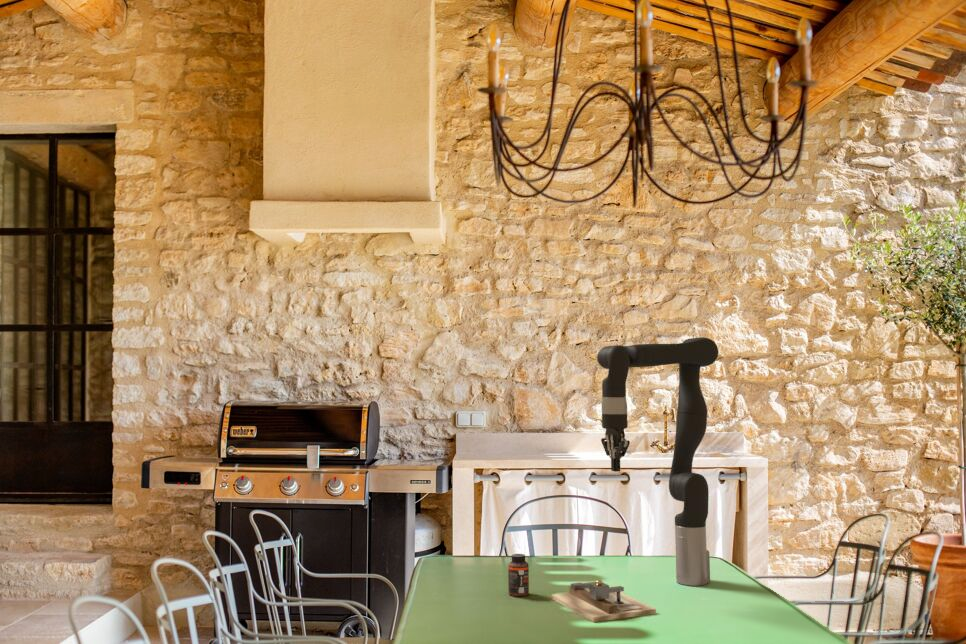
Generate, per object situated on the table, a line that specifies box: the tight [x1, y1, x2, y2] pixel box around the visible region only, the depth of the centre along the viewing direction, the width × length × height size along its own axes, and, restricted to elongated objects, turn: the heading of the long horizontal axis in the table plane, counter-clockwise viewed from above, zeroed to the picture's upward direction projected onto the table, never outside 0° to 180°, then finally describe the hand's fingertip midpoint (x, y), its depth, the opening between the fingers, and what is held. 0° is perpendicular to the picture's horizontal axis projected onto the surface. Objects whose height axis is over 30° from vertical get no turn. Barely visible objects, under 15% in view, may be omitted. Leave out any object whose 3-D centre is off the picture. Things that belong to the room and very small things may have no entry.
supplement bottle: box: [507, 553, 530, 598], centre depth 232 cm, size 6×6×11 cm
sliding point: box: [588, 579, 625, 602], centre depth 216 cm, size 9×4×6 cm, turn 112°
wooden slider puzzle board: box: [550, 585, 657, 623], centre depth 219 cm, size 19×24×3 cm
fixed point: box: [570, 581, 596, 590], centre depth 227 cm, size 9×2×3 cm, turn 112°
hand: (615, 471), depth 236 cm, fingers closed
